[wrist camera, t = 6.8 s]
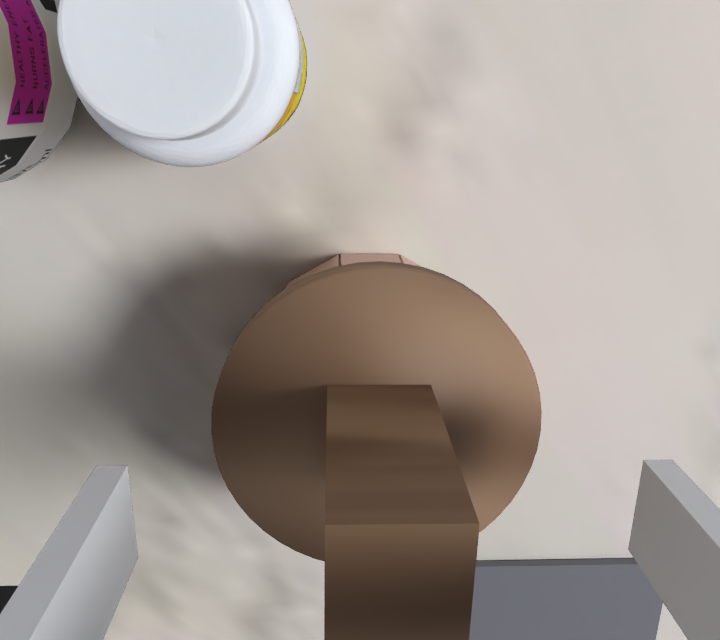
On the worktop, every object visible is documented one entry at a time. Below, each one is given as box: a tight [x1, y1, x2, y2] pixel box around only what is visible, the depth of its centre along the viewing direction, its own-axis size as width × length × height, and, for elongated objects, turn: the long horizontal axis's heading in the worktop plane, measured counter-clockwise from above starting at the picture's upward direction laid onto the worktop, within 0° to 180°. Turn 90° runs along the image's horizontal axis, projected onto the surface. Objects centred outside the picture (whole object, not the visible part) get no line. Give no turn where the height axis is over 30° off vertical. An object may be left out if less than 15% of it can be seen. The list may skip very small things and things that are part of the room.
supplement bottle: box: [57, 0, 307, 167], centre depth 18 cm, size 6×6×10 cm
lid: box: [211, 261, 541, 640], centre depth 18 cm, size 10×10×8 cm
